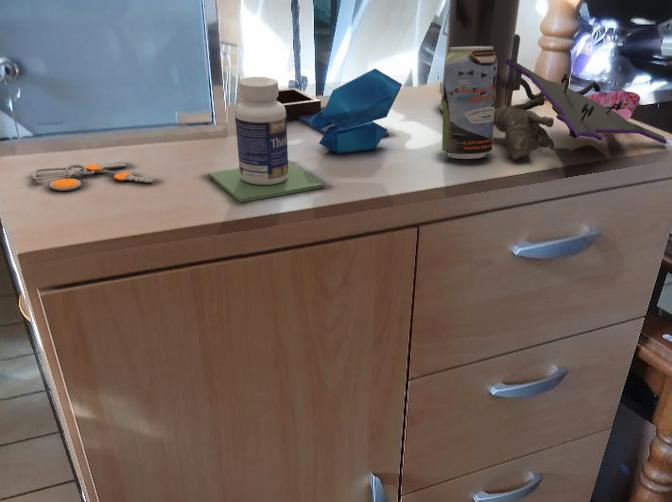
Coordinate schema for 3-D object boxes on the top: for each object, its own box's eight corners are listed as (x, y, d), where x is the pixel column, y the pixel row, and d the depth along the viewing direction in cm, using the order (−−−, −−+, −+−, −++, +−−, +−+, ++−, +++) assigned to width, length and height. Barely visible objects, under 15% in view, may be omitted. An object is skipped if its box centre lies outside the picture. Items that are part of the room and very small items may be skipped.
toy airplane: (690, 159, 78) (662, 204, 81) (677, 111, 98) (655, 149, 101) (486, 69, 78) (467, 117, 81) (515, 40, 98) (499, 79, 102)
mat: (288, 164, 88) (288, 160, 87) (324, 187, 82) (324, 184, 81) (208, 176, 84) (208, 173, 83) (240, 202, 78) (239, 198, 78)
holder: (295, 102, 109) (295, 87, 107) (321, 116, 103) (321, 100, 102) (245, 108, 105) (244, 93, 104) (269, 123, 100) (268, 107, 99)
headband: (642, 123, 97) (651, 106, 96) (624, 106, 95) (633, 89, 94) (588, 125, 106) (595, 109, 105) (570, 109, 104) (577, 94, 103)
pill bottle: (281, 188, 80) (275, 89, 74) (233, 184, 81) (224, 85, 74) (294, 172, 84) (291, 76, 78) (249, 168, 85) (242, 73, 78)
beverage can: (458, 169, 87) (470, 53, 80) (426, 151, 92) (434, 40, 84) (502, 162, 90) (517, 49, 82) (468, 145, 95) (479, 37, 87)
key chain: (30, 193, 78) (28, 185, 78) (33, 170, 84) (31, 163, 83) (154, 186, 81) (153, 178, 81) (149, 164, 87) (148, 157, 86)
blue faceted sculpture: (293, 86, 88) (379, 52, 90) (310, 158, 94) (390, 125, 97) (319, 101, 83) (410, 65, 86) (335, 176, 89) (420, 140, 92)
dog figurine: (535, 135, 98) (480, 146, 98) (535, 87, 94) (477, 99, 94) (563, 165, 89) (502, 177, 89) (564, 114, 85) (500, 127, 85)
